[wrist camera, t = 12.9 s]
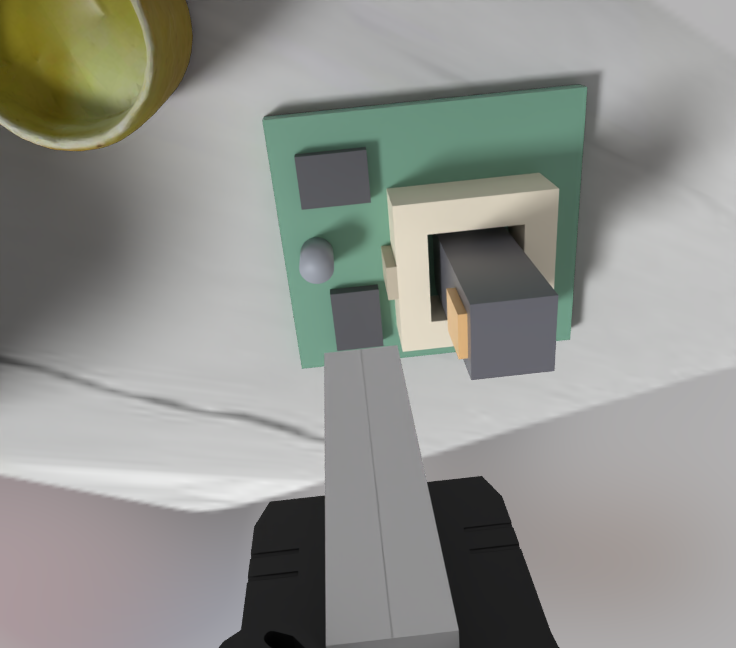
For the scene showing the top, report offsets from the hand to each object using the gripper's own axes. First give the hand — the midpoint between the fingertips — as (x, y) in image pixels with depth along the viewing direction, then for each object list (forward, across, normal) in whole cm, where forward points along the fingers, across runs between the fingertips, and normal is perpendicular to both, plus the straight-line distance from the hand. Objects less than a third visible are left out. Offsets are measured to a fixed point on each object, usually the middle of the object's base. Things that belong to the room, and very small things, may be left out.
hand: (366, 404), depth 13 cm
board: (+26, +5, -6) cm, 28 cm away
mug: (+27, -13, +7) cm, 31 cm away
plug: (+25, +7, -7) cm, 27 cm away
